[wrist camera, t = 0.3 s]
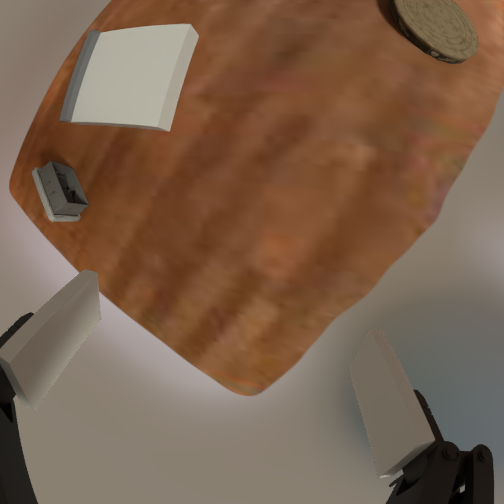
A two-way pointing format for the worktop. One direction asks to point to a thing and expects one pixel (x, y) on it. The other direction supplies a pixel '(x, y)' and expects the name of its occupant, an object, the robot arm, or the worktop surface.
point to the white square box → (130, 77)
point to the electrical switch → (59, 192)
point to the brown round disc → (436, 28)
